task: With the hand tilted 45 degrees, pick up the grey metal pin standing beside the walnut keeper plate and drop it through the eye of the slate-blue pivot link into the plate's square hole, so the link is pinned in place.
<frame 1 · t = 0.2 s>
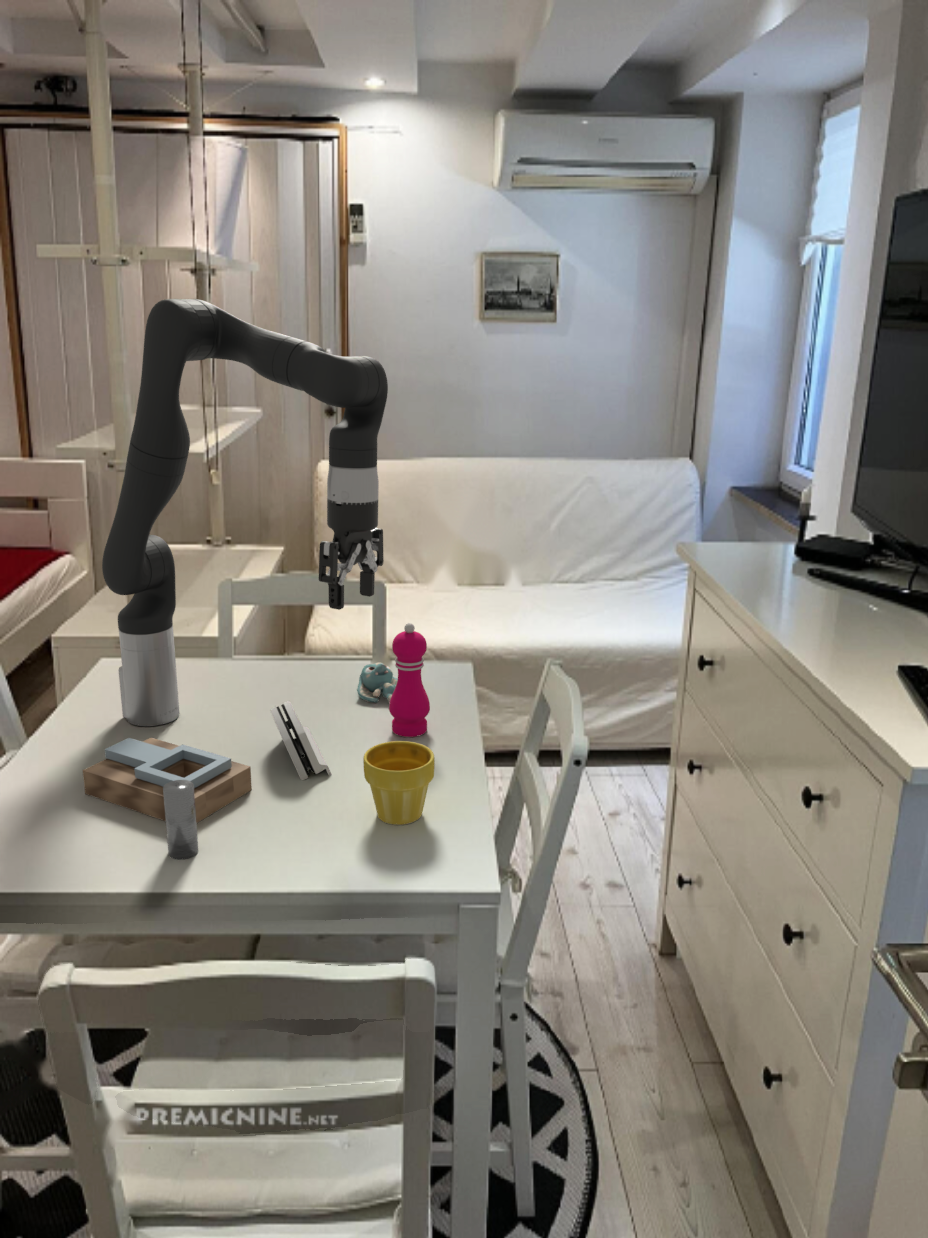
hand: (351, 601, 153), 29 cm above the table, tool pointing down, fingers open, 8 cm apart
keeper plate: (185, 797, 154), on the table
pin: (183, 852, 139), on the table
plant pot: (399, 816, 150), on the table
stuffed animal: (382, 697, 194), on the table
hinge: (298, 759, 168), on the table
pivot link: (161, 761, 154), point 5 cm above the table, hinge at 0.0°
pepper mill: (409, 731, 179), on the table
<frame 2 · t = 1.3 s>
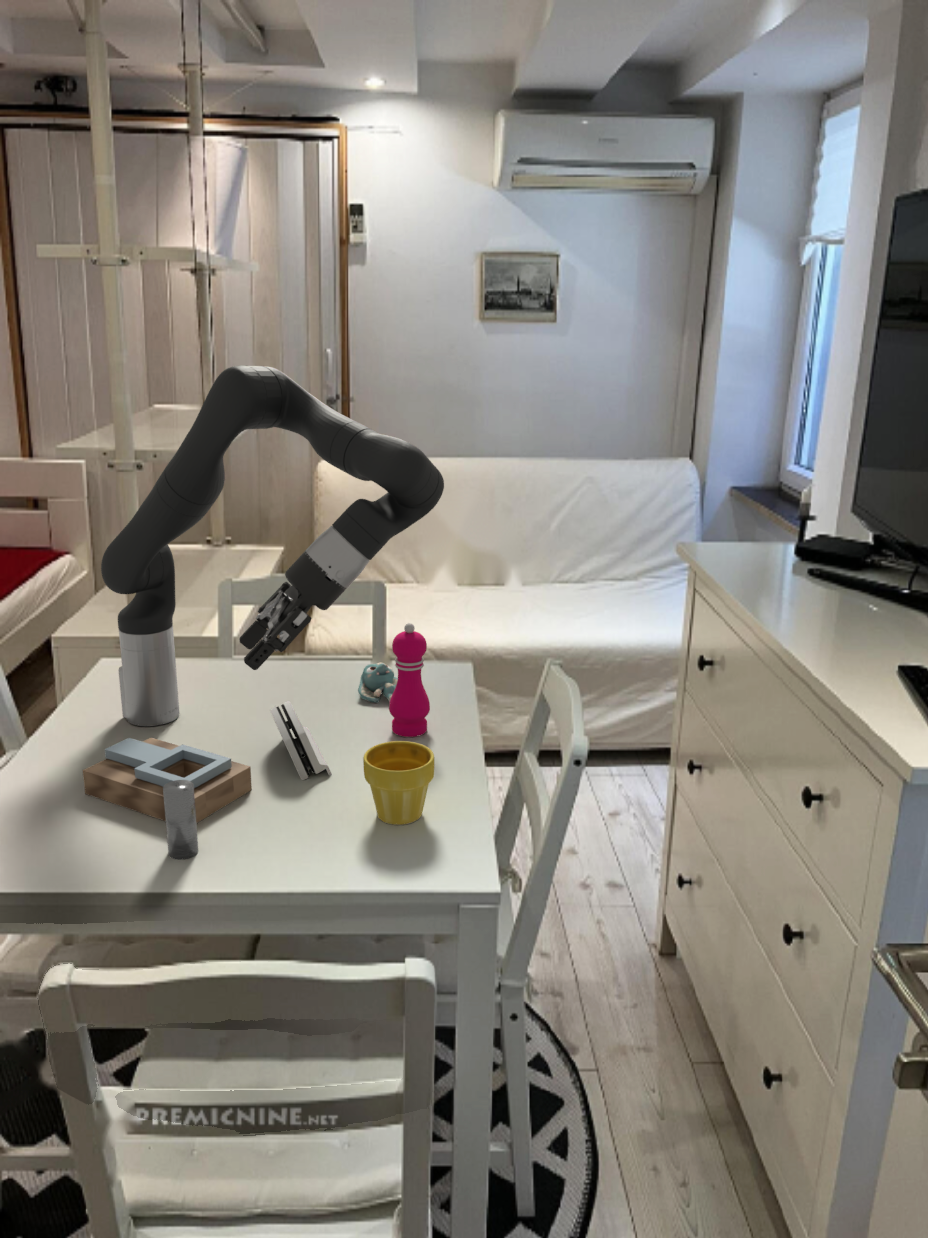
hand: (246, 655, 136), 27 cm above the table, tool tilted 45°, fingers open, 8 cm apart
nothing on the table moved.
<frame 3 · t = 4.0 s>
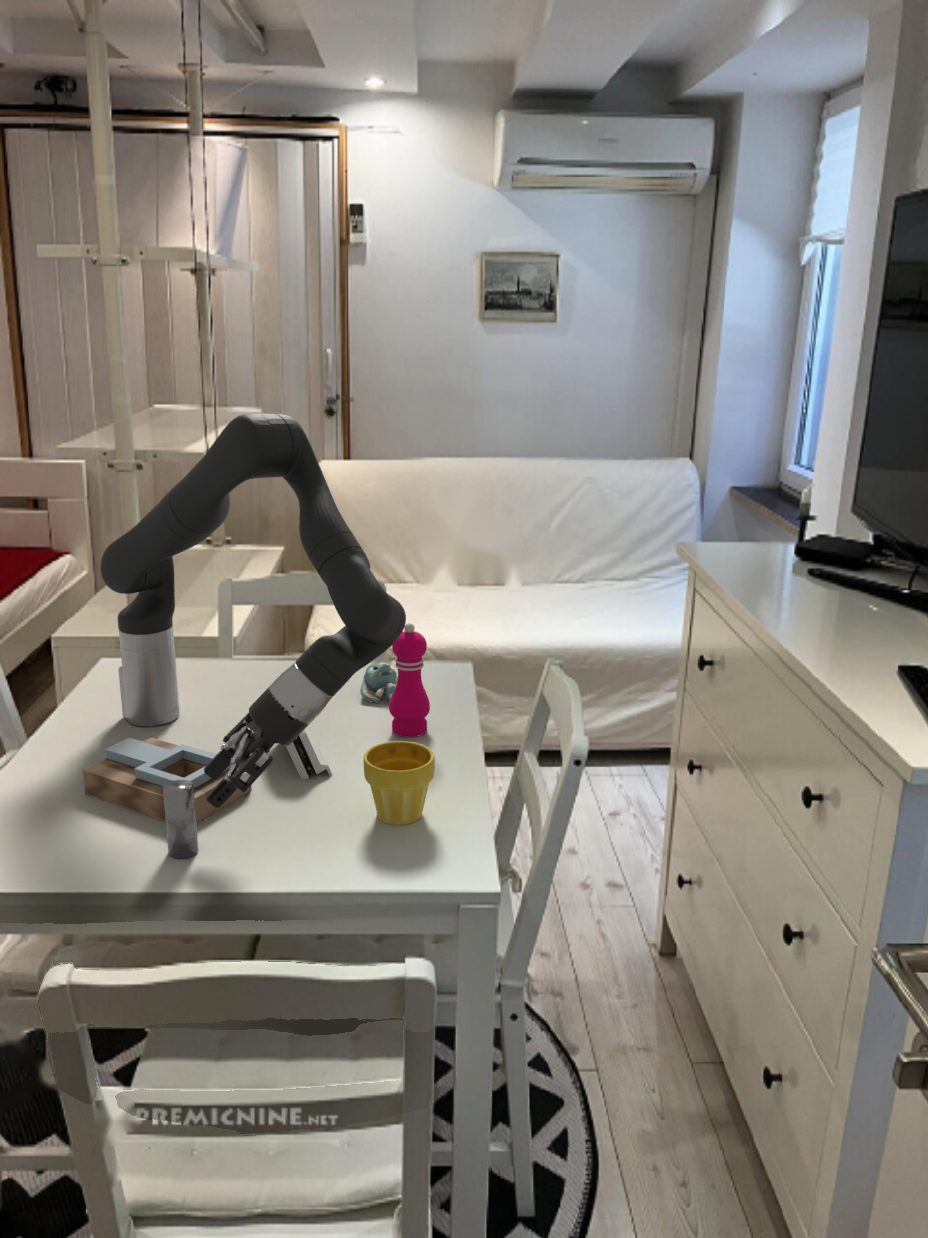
hand: (209, 788, 137), 9 cm above the table, tool tilted 45°, fingers open, 8 cm apart
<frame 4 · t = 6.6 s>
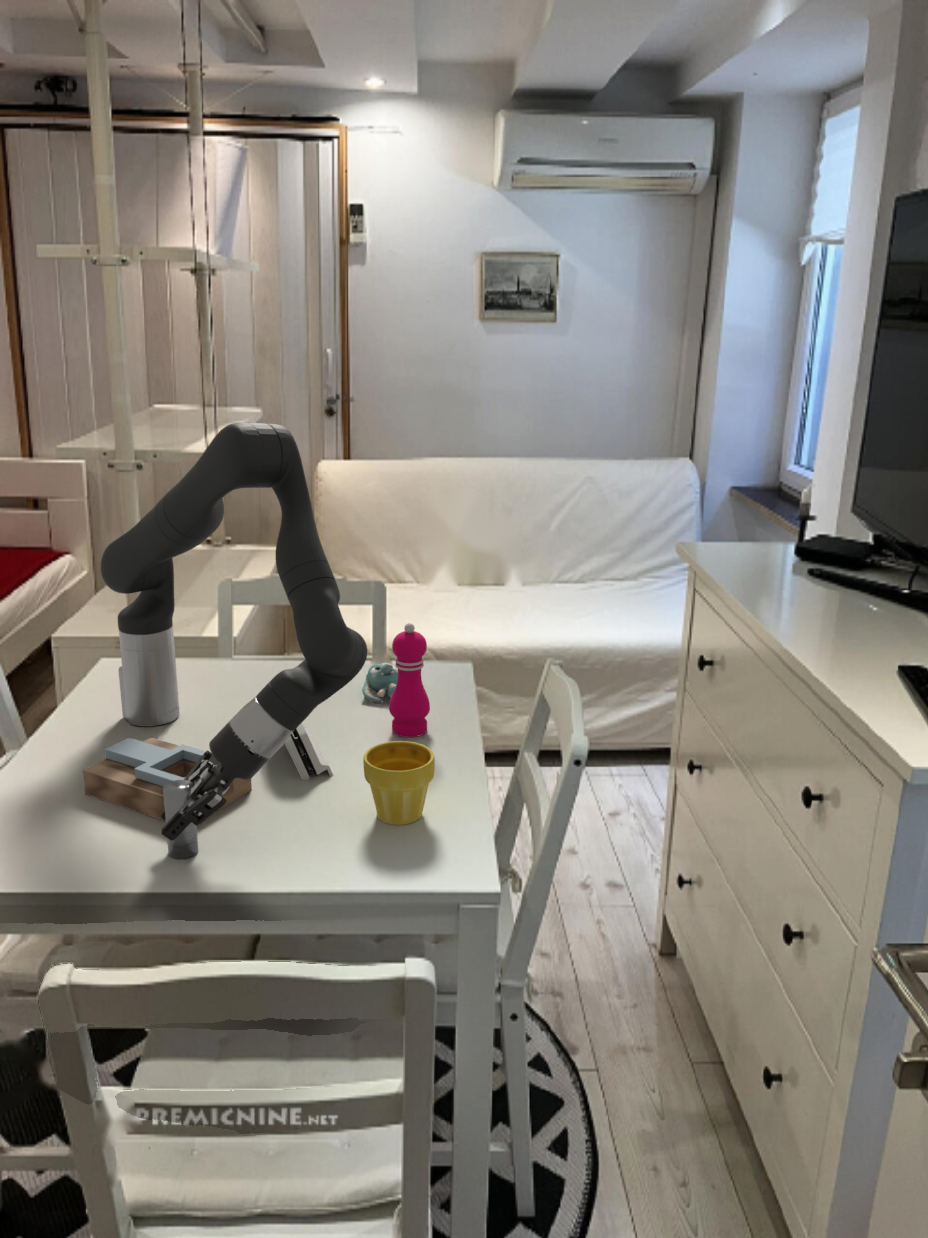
hand: (166, 827, 137), 4 cm above the table, tool tilted 45°, fingers closed on pin, 4 cm apart
pin: (183, 852, 139), on the table, touching gripper
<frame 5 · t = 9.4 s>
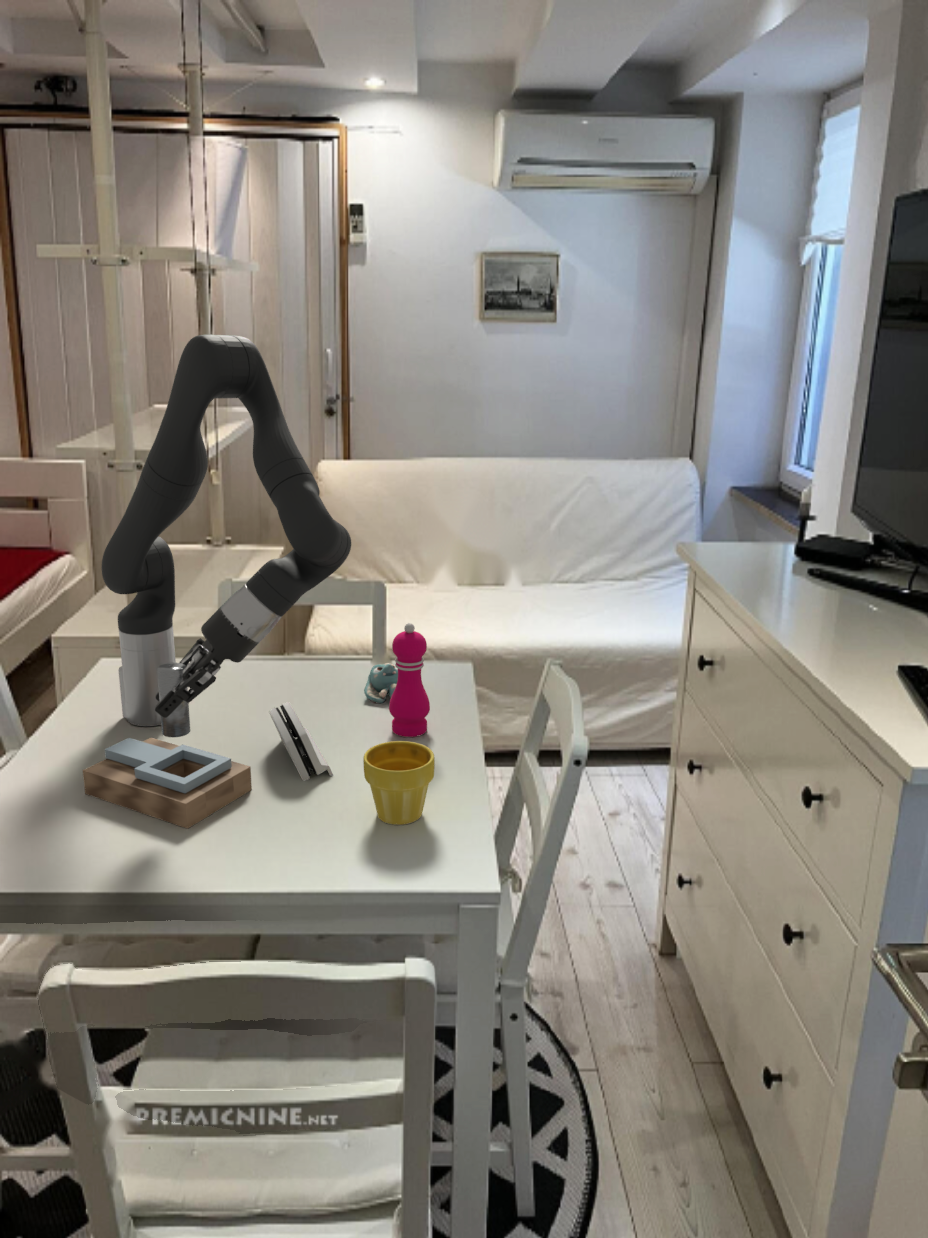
hand: (160, 707, 145), 17 cm above the table, tool tilted 45°, fingers closed on pin, 4 cm apart
pin: (176, 731, 147), point 12 cm above the table, touching gripper
when the fingers open (10 cm above the table, at t = 12.2 s): pin drops 6 cm, resting in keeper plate.
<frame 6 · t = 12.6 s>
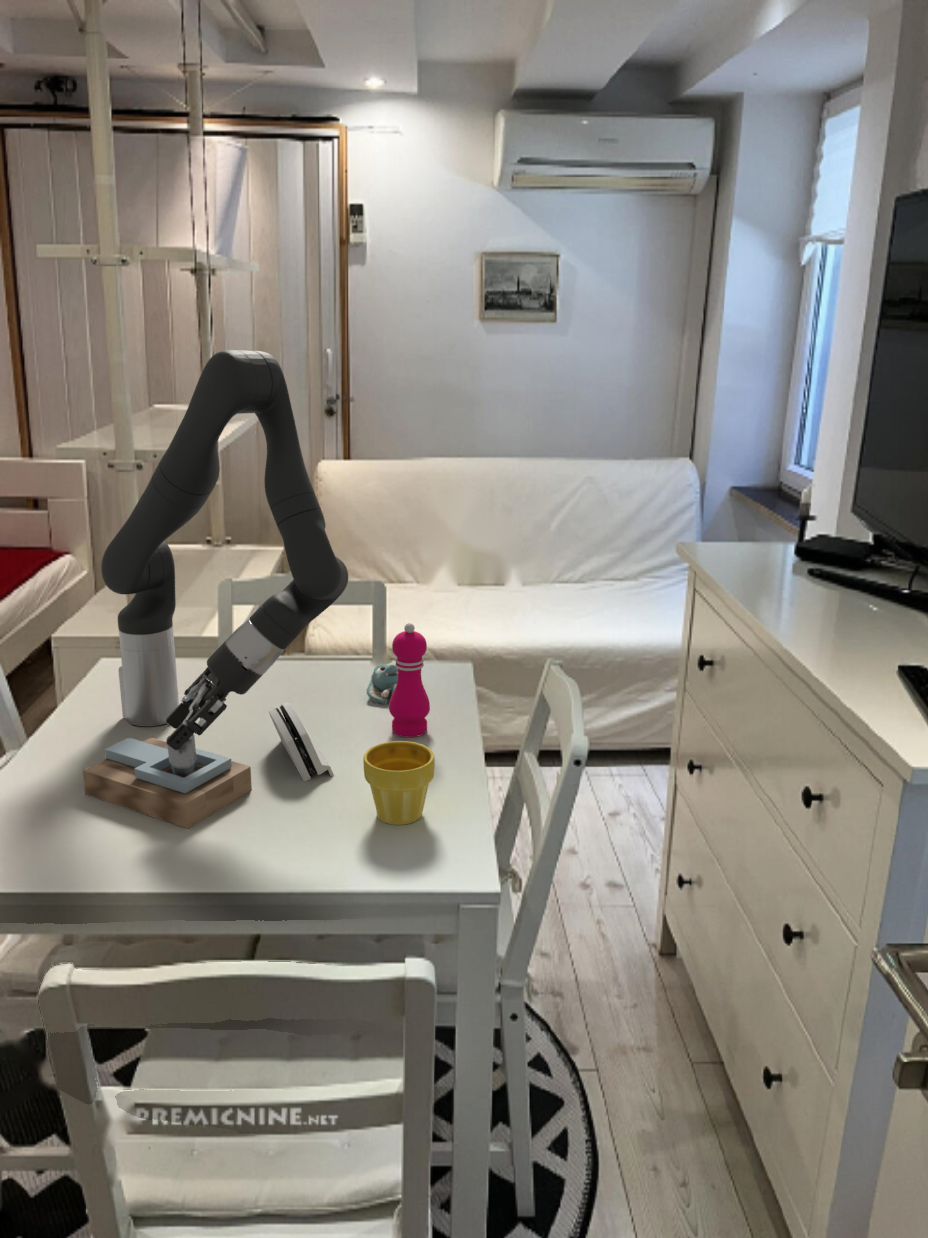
hand: (170, 735, 150), 11 cm above the table, tool tilted 45°, fingers open, 7 cm apart
pin: (186, 797, 154), resting in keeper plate
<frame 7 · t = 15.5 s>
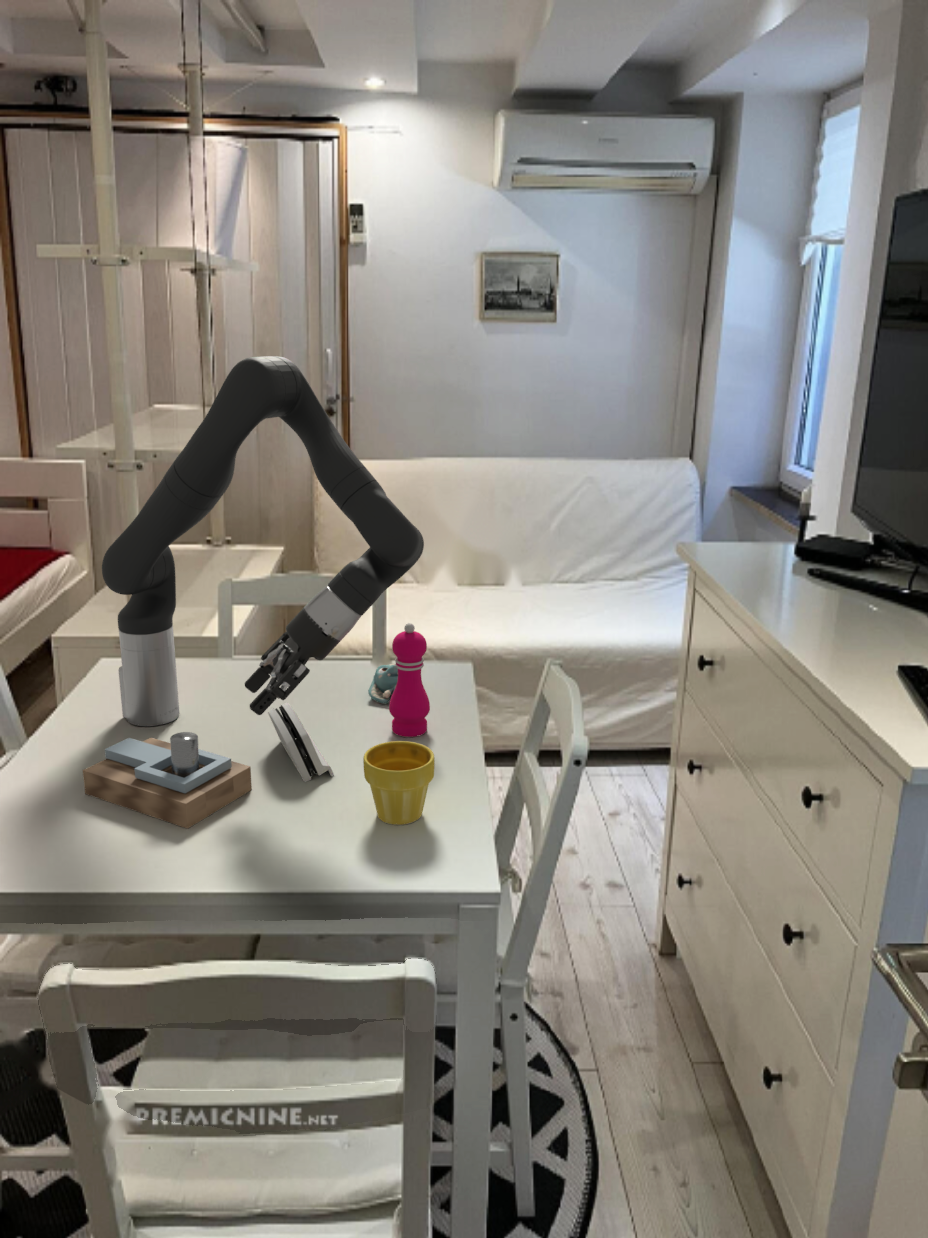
hand: (251, 700, 152), 15 cm above the table, tool tilted 45°, fingers open, 8 cm apart
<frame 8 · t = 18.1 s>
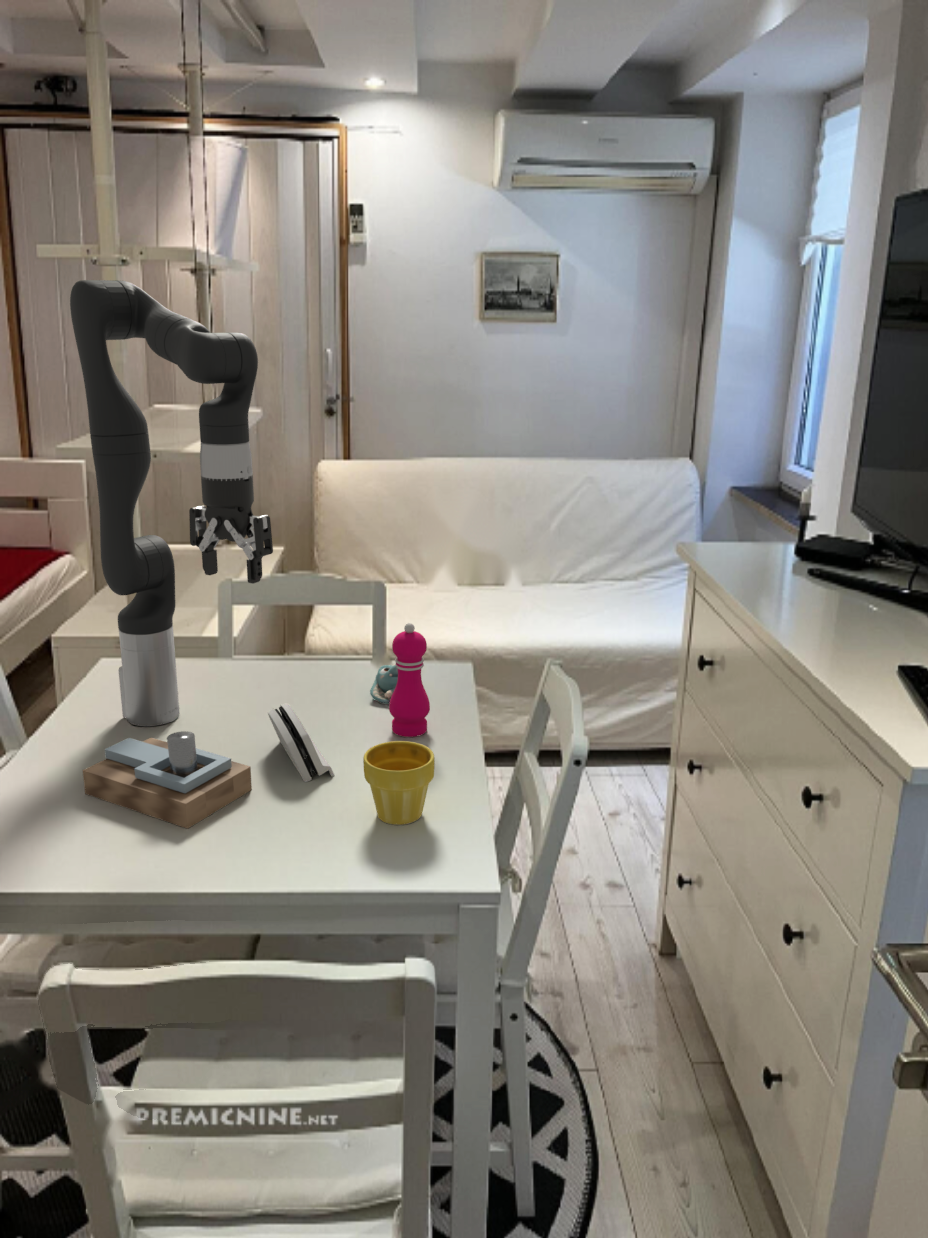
hand: (232, 578, 154), 32 cm above the table, tool pointing down, fingers open, 8 cm apart
at the end: pin 0.1 cm off-centre on the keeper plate, point 0.0 cm above the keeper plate's base; pin tilted 2°; the gripper is holding nothing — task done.
